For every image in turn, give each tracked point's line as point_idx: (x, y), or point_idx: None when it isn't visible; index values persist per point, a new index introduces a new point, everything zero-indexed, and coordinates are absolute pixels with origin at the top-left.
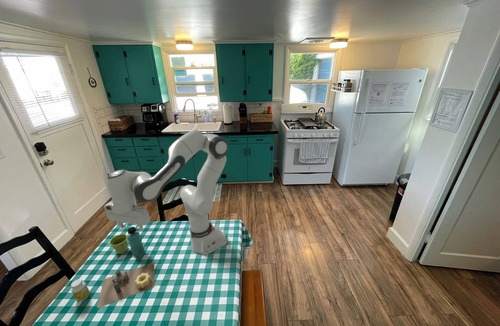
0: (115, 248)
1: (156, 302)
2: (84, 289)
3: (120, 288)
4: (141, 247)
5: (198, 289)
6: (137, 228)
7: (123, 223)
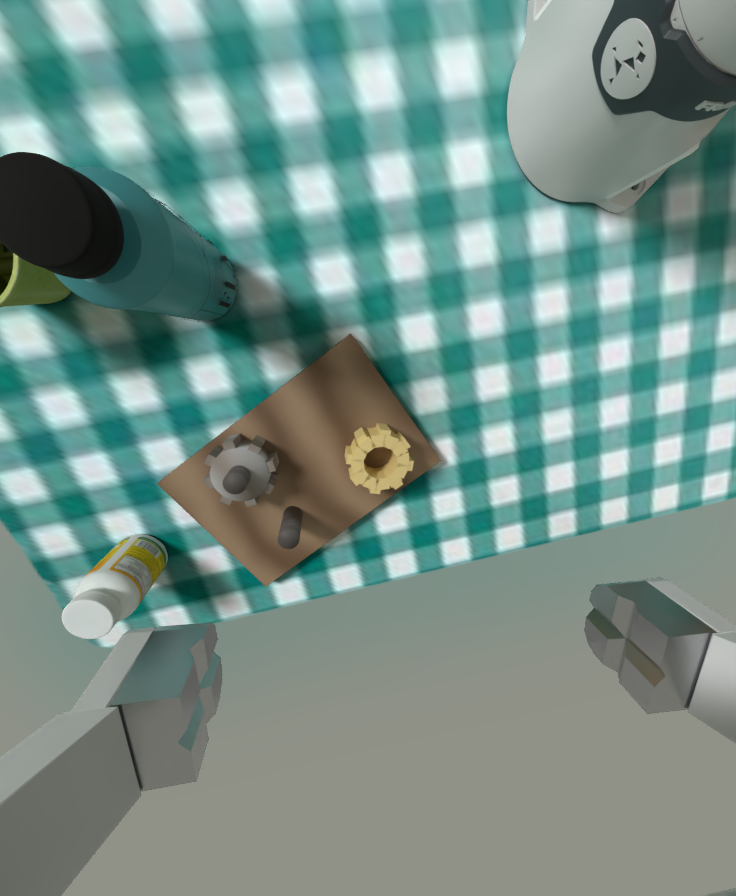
0: (2, 306)
1: (473, 502)
2: (145, 583)
3: (298, 513)
4: (222, 276)
5: (621, 418)
6: (641, 703)
7: (115, 724)
